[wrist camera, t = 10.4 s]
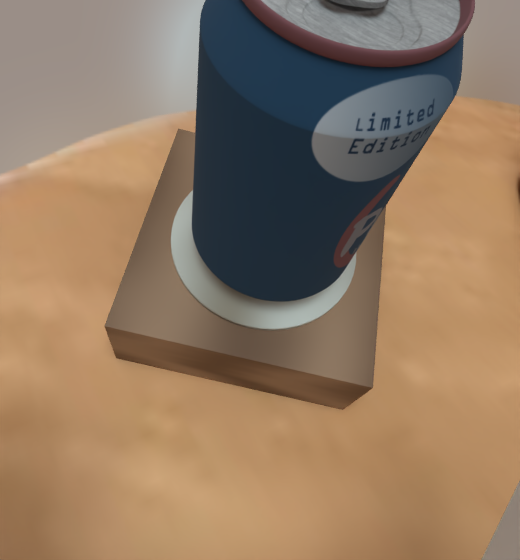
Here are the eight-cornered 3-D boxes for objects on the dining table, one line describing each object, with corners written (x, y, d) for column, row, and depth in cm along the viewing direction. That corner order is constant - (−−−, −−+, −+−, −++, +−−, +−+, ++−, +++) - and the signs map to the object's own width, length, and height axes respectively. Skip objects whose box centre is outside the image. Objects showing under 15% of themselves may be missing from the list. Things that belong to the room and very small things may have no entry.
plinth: (361, 224, 28) (389, 177, 24) (342, 409, 23) (375, 386, 19) (178, 179, 28) (178, 124, 24) (116, 357, 22) (103, 322, 19)
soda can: (350, 319, 20) (535, 94, 10) (184, 309, 19) (191, 47, 9) (338, 188, 23) (468, -89, 13) (196, 174, 23) (210, -136, 12)
